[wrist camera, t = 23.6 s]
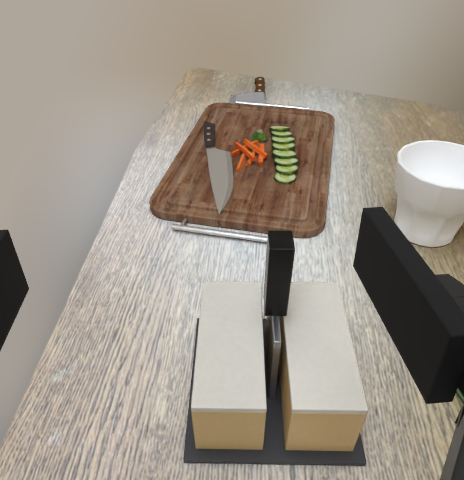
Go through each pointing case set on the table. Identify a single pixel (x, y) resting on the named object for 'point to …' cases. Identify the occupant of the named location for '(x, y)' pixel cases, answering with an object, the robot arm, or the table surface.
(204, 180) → the chopping board
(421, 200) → the cup
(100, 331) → the table surface
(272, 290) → the black-handled knife
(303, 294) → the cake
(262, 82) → the kitchen cleaver
